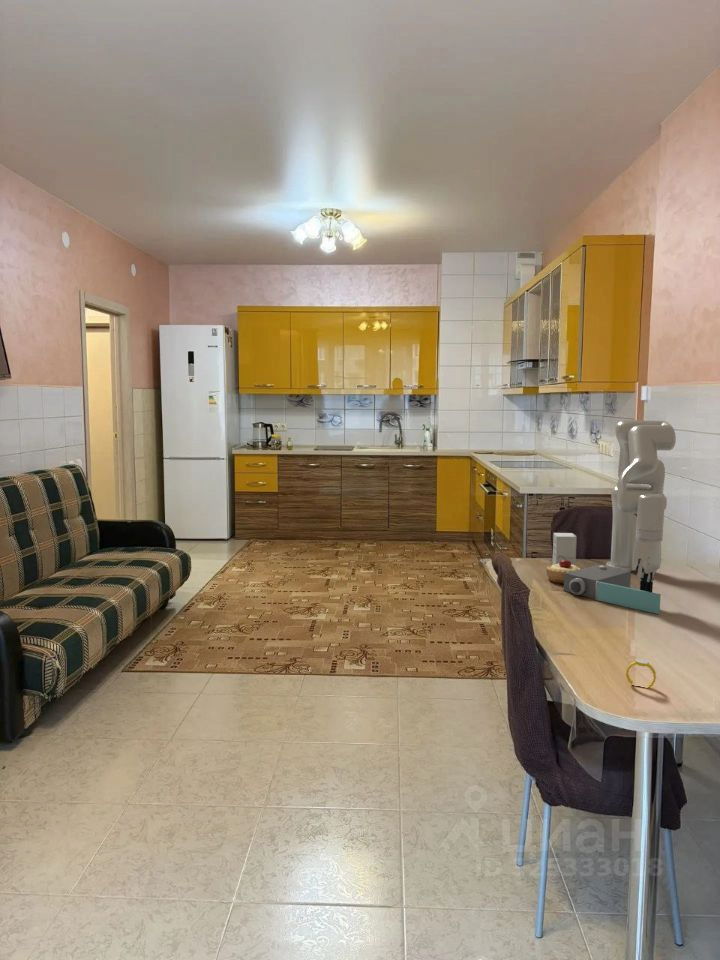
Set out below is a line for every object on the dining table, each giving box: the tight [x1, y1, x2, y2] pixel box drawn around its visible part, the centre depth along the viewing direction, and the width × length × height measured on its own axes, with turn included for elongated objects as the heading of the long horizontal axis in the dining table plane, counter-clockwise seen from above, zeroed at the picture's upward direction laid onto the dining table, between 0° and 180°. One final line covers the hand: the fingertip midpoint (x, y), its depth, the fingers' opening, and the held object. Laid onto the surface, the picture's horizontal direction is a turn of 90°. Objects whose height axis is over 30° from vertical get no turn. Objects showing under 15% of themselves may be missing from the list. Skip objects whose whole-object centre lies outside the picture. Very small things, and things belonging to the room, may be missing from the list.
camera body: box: [563, 564, 632, 599], centre depth 229 cm, size 22×12×7 cm, turn 128°
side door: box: [594, 581, 661, 615], centre depth 211 cm, size 20×1×6 cm, turn 43°
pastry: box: [545, 556, 581, 585], centre depth 241 cm, size 12×12×9 cm
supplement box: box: [552, 532, 578, 566], centre depth 261 cm, size 7×7×13 cm
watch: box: [625, 658, 657, 688], centre depth 152 cm, size 6×3×6 cm, turn 64°
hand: (645, 593), depth 212 cm, fingers closed
